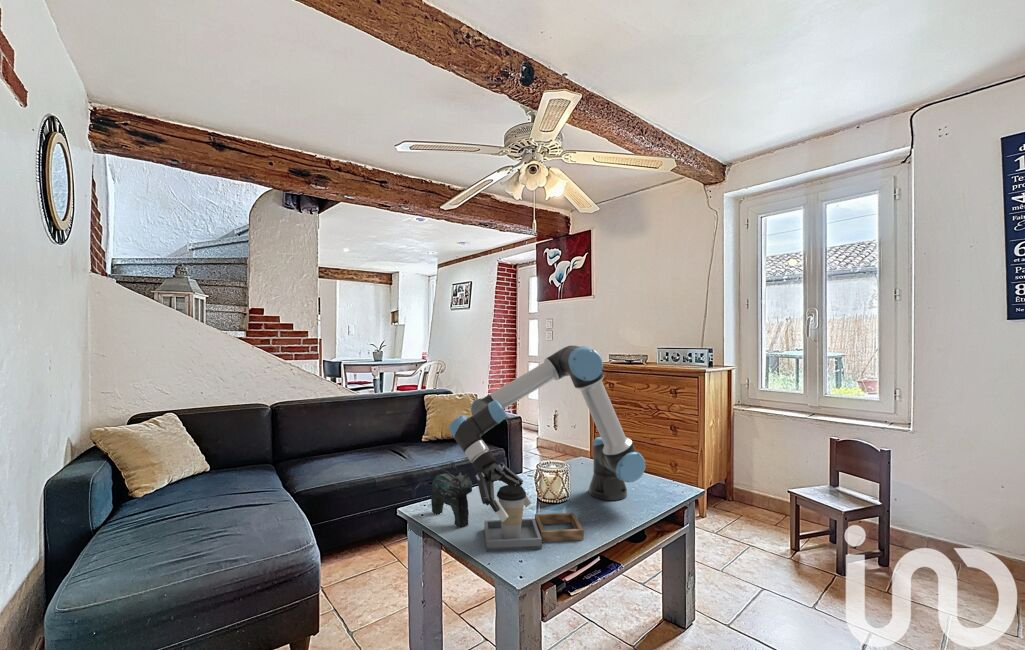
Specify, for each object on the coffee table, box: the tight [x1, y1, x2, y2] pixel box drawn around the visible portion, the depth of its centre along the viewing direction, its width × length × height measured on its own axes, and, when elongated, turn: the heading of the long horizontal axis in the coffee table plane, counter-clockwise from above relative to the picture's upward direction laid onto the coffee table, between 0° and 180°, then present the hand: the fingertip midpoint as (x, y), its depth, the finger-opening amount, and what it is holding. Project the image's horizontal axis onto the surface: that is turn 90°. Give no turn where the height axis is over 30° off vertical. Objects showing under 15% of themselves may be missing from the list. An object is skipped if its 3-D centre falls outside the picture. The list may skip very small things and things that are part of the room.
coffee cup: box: [496, 484, 527, 539], centre depth 148 cm, size 9×9×15 cm
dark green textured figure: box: [430, 463, 473, 529], centre depth 162 cm, size 20×6×20 cm, turn 43°
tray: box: [483, 518, 543, 552], centre depth 148 cm, size 17×15×3 cm
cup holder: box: [534, 512, 585, 543], centre depth 154 cm, size 14×14×3 cm
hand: (517, 512), depth 147 cm, fingers open, 13 cm apart
